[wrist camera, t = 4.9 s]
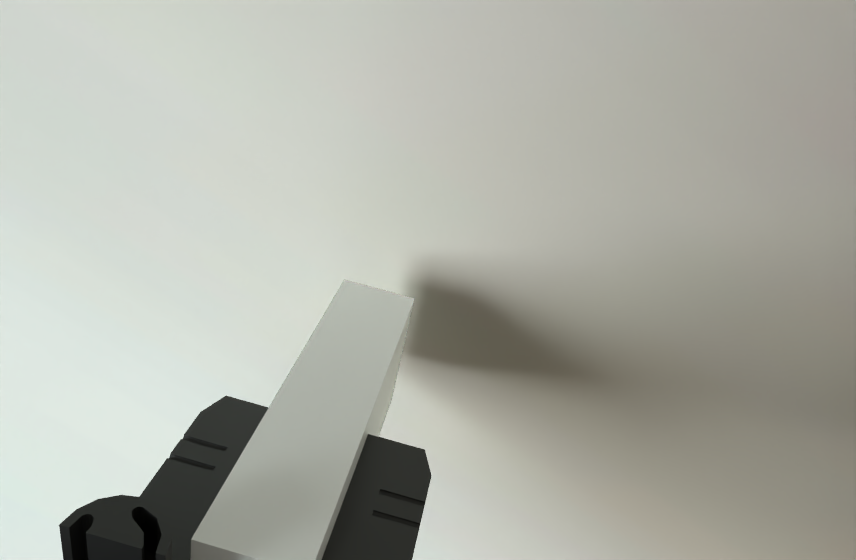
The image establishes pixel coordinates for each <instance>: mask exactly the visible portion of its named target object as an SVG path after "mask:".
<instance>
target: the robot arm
mask: <svg viewBox="0 0 856 560" xmlns="http://www.w3.org/2000/svg"><path fill="white" fill-rule="evenodd" d="M414 300H415V298H412V297H408V296H404V295H400V294H397V293H393V292H389V291H386V290H382V289H378V288H374V287H371V286H367V285H363V284H360V283H356V282H352V281H349V280H345V279H344V281H343V283H342V284H341V286H340V288H339V289H338V291H337V293H336V295H335V296H334V298H333V300H332V301H331V303H330V305H329V306H328V308H327V310H326V311H325V313H324V315H323V317H322V318H321V320H320V322H319V323H318V325H317V327H316V328H315V330H314V332H313V334H312V335H311V337H310V339H309V340H308V342H307V344H306V345H305V347H304V349H303V350H302V352H301V354H300V356H299V357H298V359H297V361H296V362H295V364H294V366H293V367H292V369H291V371H290V373H289V374H288V376H287V378H286V379H285V381H284V383H283V384H282V386H281V388H280V389H279V391H278V393H277V395H276V396H275V398H274V400H273V401H272V403H271V405H270V406H269V408H268V407H264V406H261V405H257V404H254V403H250V402H246V401H243V400H239V399H236V398H232V397H229V396H225V397H223V398H222V399H220V400H219V401H217V402H216V403H214V404H212V405H211V406H209V407H208V408H206V409H205V410H203V411H202V412H200V414H199V415H198V416H197V418H196V419H195V420H194V422H193V423H192V425H191V426H190V427H189V429H188V430H187V432H186V433H185V434H184V438H183V439H181V440H180V441H179V443H178V444H177V445H176V447H175V448H174V450H173V451H172V452H171V455H170V457H169V459H168V458H167V459H166V461H165V462H164V464H163V465H162V466H161V468H160V469H159V470H158V472H157V473H156V475H155V476H154V477H153V479H152V480H151V482H150V483H149V484H148V486H147V487H146V488H145V490H144V491H143V493H142V494H141V495H140V497H134V496H125V495H119V496H113V497H107V498H102V499H98V500H95V501H93V502H91V503H89V504H87V505H85V506H83V507H81V508H79V509H77V510H75V511H74V512H73V513H72V514H71V515H70V516H69V517H68V518H66V519H65V520H64V521H63V522H62V523H61V524H60V525H59V526H60V534H61V542H62V550H63V559H64V560H412V557H413V553H414V548H415V544H416V540H417V535H418V531H419V526H420V522H421V518H422V514H423V509H424V505H425V501H426V496H427V492H428V488H429V484H430V479H431V472H430V469H429V465H428V461H427V457H426V453H425V450H424V449H420V448H416V447H413V446H409V445H406V444H402V443H399V442H395V441H392V440H388V439H384V438H381V437H379V434H380V431H381V428H382V426H383V423H384V420H385V417H386V414H387V411H388V408H389V406H390V403H391V400H392V396H393V392H394V387H395V383H396V379H397V374H398V370H399V365H400V361H401V357H402V352H403V348H404V343H405V339H406V335H407V330H408V326H409V322H410V317H411V313H412V308H413V304H414Z"/></svg>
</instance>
